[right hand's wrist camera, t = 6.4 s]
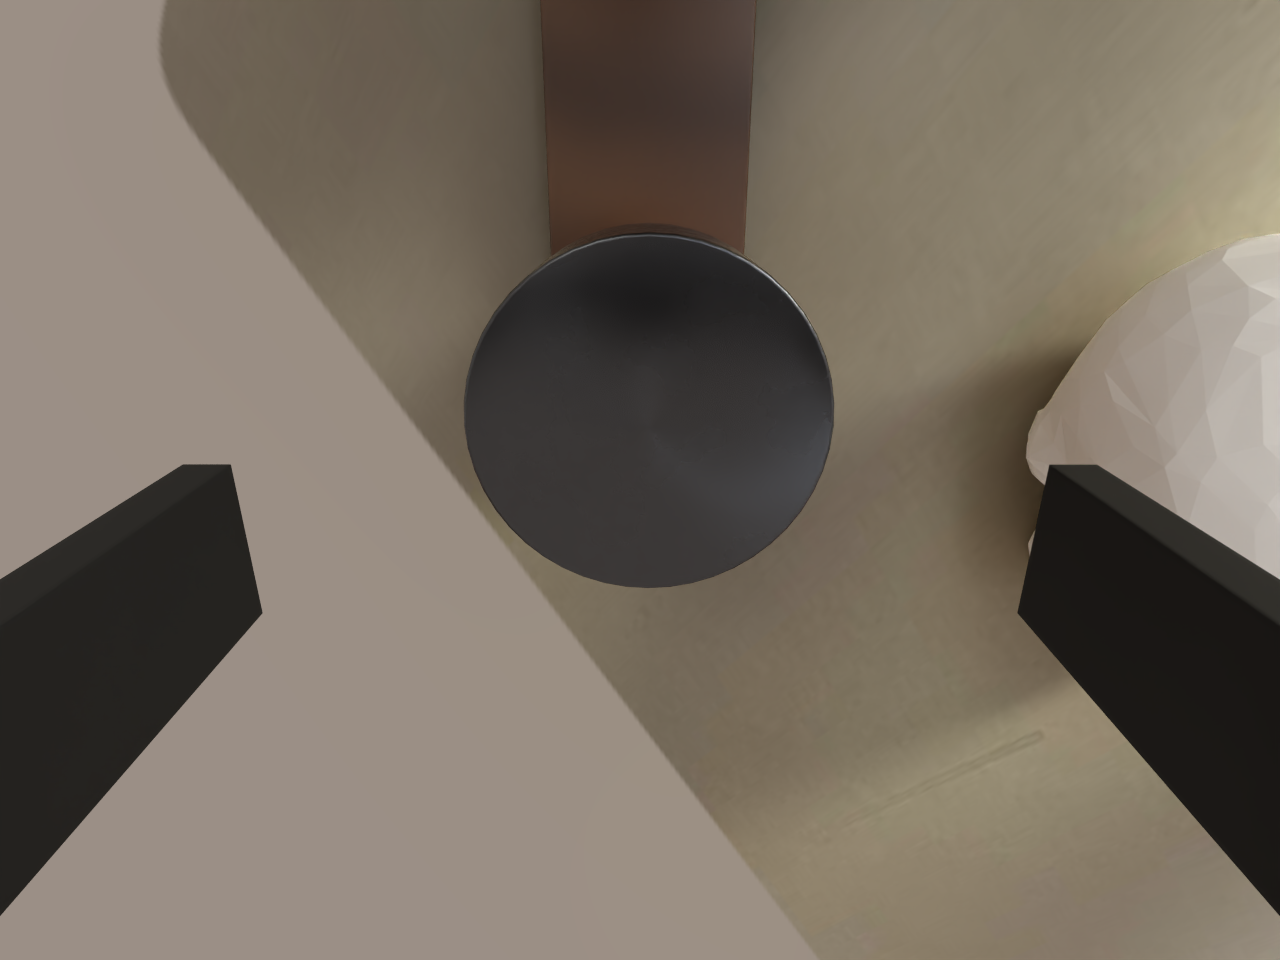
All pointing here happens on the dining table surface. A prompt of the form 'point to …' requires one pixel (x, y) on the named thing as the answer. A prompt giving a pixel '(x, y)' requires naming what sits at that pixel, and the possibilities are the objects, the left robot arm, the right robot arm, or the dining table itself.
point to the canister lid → (648, 407)
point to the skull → (1185, 398)
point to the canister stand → (647, 114)
